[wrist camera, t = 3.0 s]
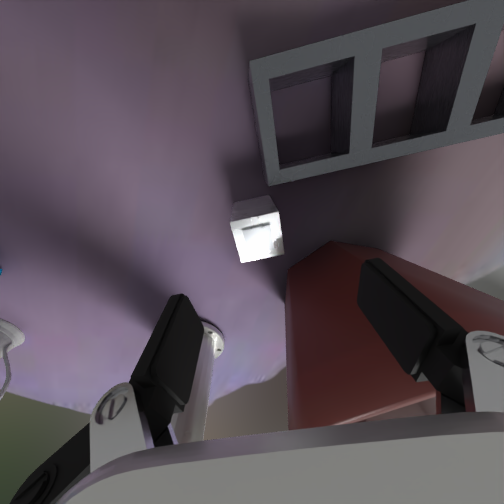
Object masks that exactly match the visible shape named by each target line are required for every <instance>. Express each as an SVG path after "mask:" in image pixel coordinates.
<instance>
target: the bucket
mask: <svg viewBox="0 0 504 504" xmlns="http://www.w3.org/2000/svg"><path fill="white" fill-rule="evenodd" d="M373 258H380V259H382V260H383V261H384V262H385V263H387V264H388V265H389V266H390V267H391V268H393V269H394V270H395V271H396V272H397V273H399V274H400V275H401V276H402V277H403V278H405V279H406V280H407V281H408V282H409V283H411V284H412V285H413V286H414V287H415V288H417V289H418V290H419V291H420V292H421V293H423V294H424V295H425V296H426V297H427V298H429V299H430V300H431V301H432V302H433V303H434V304H436V305H437V306H438V307H439V308H440V309H442V310H443V311H444V312H445V313H446V314H448V315H449V316H450V317H451V318H452V319H454V320H455V321H456V322H457V323H458V324H460V325H461V326H462V327H463V328H464V329H465V330H466V331H467V332H468V333H470V332H473V331H488V332H492V333H496V334H499V335H502V336H504V301H503V300H500V299H498V298H495V297H493V296H490V295H488V294H486V293H483V292H481V291H478V290H476V289H474V288H471V287H469V286H466V285H464V284H462V283H459V282H457V281H454V280H452V279H450V278H447V277H445V276H442V275H440V274H437V273H435V272H433V271H430V270H428V269H425V268H423V267H421V266H418V265H416V264H413V263H411V262H409V261H406V260H404V259H401V258H399V257H397V256H394V255H392V254H389V253H387V252H384V251H382V250H380V249H377V248H371V247H365V246H359V245H353V244H348V243H342V242H336V241H330V242H328V243H327V244H325V245H324V246H322V247H321V248H319V249H318V250H316V251H315V252H313V253H312V254H310V255H309V256H307V257H306V258H304V259H303V260H301V261H300V262H298V263H297V264H295V265H294V266H292V267H291V268H289V269H288V273H287V285H286V297H285V326H286V362H287V397H288V428H289V430H298V429H307V428H315V427H324V426H333V425H342V424H351V423H360V422H369V421H378V420H387V419H396V418H406V417H415V416H426V415H436V389H435V388H434V387H433V386H432V384H431V383H430V382H429V381H422V382H415V380H414V379H413V377H412V376H411V375H408V374H406V373H405V372H404V370H403V369H402V368H401V366H400V365H399V363H398V362H397V361H396V359H395V358H394V356H393V355H392V353H391V352H390V351H389V349H388V348H387V346H386V345H385V343H384V342H383V341H382V339H381V338H380V336H379V335H378V333H377V332H376V331H375V329H374V328H373V326H372V325H371V324H370V322H369V321H368V319H367V318H366V316H365V315H364V314H363V312H362V311H361V309H360V308H359V306H358V304H357V294H358V287H359V279H360V271H361V265H362V263H364V261H365V260H367V259H373Z"/></svg>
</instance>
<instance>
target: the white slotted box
mask: <svg viewBox="0 0 504 504" xmlns="http://www.w3.org/2000/svg"><path fill="white" fill-rule="evenodd" d="M230 225H231V228H232V232H233V235H234V239H235V242H236V246H237V249H238V253H239V256H240V260H241V263H243V262H248V261H253V260H258V259H263V258H268V257H273V256H278V255H283V254H284V246H283V239H282V232H281V225H280V217H279V211H278V210H277V208H276V206H275V204H274V203H273V201H272V199H271V197H270V195H265V196H261V197H257V198H252V199H248V200H243V201H239V202H234V203H233V208H232V213H231V218H230Z"/></svg>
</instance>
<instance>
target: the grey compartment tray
mask: <svg viewBox="0 0 504 504" xmlns="http://www.w3.org/2000/svg"><path fill="white" fill-rule="evenodd" d="M502 30H504V0H468V1H464V2H460V3H457V4H453V5H450V6H446V7H442V8H439V9H435V10H432V11H428V12H424V13H421V14H417V15H414V16H410V17H406V18H403V19H399V20H396V21H392V22H388V23H385V24H381V25H378V26H374V27H370V28H367V29H363V30H359V31H356V32H352V33H349V34H345V35H341V36H338V37H334V38H331V39H327V40H323V41H320V42H316V43H313V44H309V45H305V46H302V47H298V48H295V49H291V50H287V51H284V52H280V53H277V54H273V55H269V56H266V57H262V58H259V59H255V60H251V61H249V74H248V82H249V88H250V94H251V100H252V106H253V112H254V118H255V125H256V131H257V137H258V143H259V149H260V155H261V161H262V167H263V173H264V179H265V182H266V183H267V184H268V186H272V185H277V184H281V183H286V182H290V181H294V180H299V179H303V178H308V177H312V176H316V175H321V174H325V173H330V172H334V171H338V170H343V169H347V168H352V167H356V166H360V165H365V164H369V163H373V162H378V161H382V160H387V159H391V158H395V157H400V156H404V155H409V154H413V153H417V152H422V151H426V150H431V149H435V148H439V147H444V146H448V145H453V144H457V143H461V142H466V141H470V140H475V139H479V138H483V137H488V136H492V135H497V134H501V133H504V88H503V91H502V94H501V96H500V99H499V102H498V104H497V107H496V110H495V112H494V115H491V116H486V117H482V118H478V119H474V120H472V118H473V115H474V112H475V109H476V106H477V103H478V100H479V97H480V94H481V91H482V88H483V85H484V82H485V79H486V76H487V72H488V69H489V66H490V63H491V60H492V57H493V54H494V51H495V48H496V45H497V42H498V39H499V36H500V33H501V31H502ZM423 51H426V55H425V60H424V65H423V70H422V75H421V80H420V85H419V90H418V95H417V101H416V106H415V111H414V116H413V121H412V126H411V131H410V135H405V136H401V137H397V138H393V139H388V140H384V141H380V142H376V143H372V140H373V130H374V121H375V112H376V103H377V94H378V84H379V75H380V66H381V62H385V61H388V60H392V59H396V58H400V57H404V56H407V55H411V54H415V53H419V52H423ZM331 75H332V96H331V153H329V154H325V155H320V156H316V157H312V158H307V159H303V160H299V161H295V162H290V163H286V164H282V165H279V160H278V151H277V143H276V135H275V127H274V118H273V110H272V102H271V94H270V92H271V91H275V90H278V89H282V88H286V87H290V86H294V85H297V84H301V83H305V82H309V81H313V80H316V79H320V78H324V77H328V76H331Z"/></svg>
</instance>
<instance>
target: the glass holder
mask: <svg viewBox="0 0 504 504" xmlns="http://www.w3.org/2000/svg"><path fill="white" fill-rule="evenodd" d="M24 340H25V337H24V334H23V333H22V332H21V330H20V329H18V328H17V327H16V326H14V325H13V324H11V323H9V322H7V321H5V320H3V319H0V358H2V357H3V359H4V363H5V366H6V380H5V383H4V385H3V387H2V390H1V392H0V400H1V398H2V397H3V395H4V393H5V391H6V389H7V387H8V385H9V383H10V380H11V370H10V364H9V360H8V356H7V352H9V351H10V350H11V349H13V348H14V347H16V346H19V345H21V344H22V343H23V342H24Z"/></svg>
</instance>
